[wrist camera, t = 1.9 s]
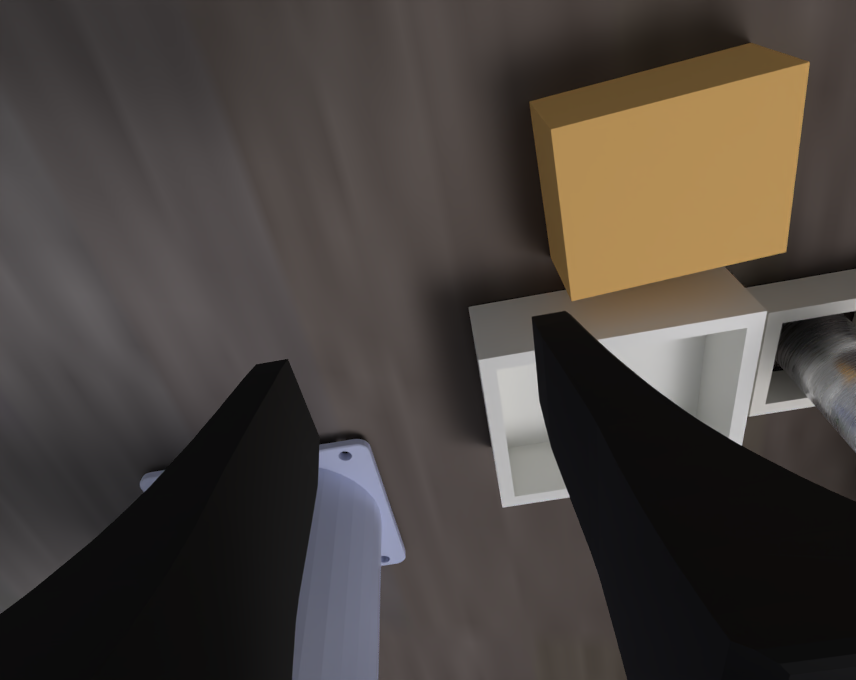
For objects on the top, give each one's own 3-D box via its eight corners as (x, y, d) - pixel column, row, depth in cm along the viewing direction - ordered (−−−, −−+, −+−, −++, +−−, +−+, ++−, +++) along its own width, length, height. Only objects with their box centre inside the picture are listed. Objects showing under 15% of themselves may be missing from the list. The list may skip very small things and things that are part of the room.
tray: (491, 448, 24) (502, 507, 22) (468, 306, 20) (478, 359, 18) (701, 414, 24) (736, 471, 21) (720, 262, 19) (767, 310, 17)
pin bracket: (729, 388, 23) (749, 416, 21) (744, 287, 20) (769, 313, 19) (851, 368, 22) (879, 396, 21) (883, 263, 20) (917, 287, 19)
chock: (548, 253, 19) (571, 301, 17) (527, 99, 16) (551, 129, 14) (734, 209, 19) (786, 252, 16) (745, 41, 16) (809, 62, 13)
